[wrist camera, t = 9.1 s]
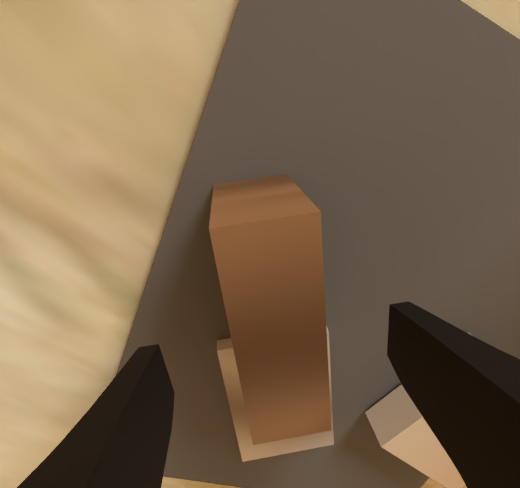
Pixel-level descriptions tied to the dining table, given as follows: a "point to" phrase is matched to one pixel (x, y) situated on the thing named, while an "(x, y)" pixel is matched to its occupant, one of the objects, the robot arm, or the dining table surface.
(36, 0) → the dining table surface
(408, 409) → the flat beige block
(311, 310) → the tall brown post
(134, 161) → the dining table surface
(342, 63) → the mat
